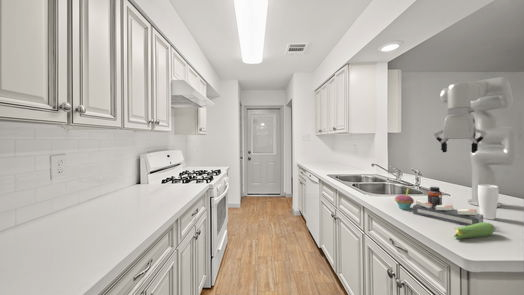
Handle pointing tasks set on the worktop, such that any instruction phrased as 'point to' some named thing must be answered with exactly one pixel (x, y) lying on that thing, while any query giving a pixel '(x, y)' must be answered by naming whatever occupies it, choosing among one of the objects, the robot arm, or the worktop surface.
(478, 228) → the edible corn
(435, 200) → the supplement bottle
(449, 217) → the rocker switch panel
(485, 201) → the drinking glass
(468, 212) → the block
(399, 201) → the cupcake
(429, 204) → the rocker
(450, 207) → the plate
